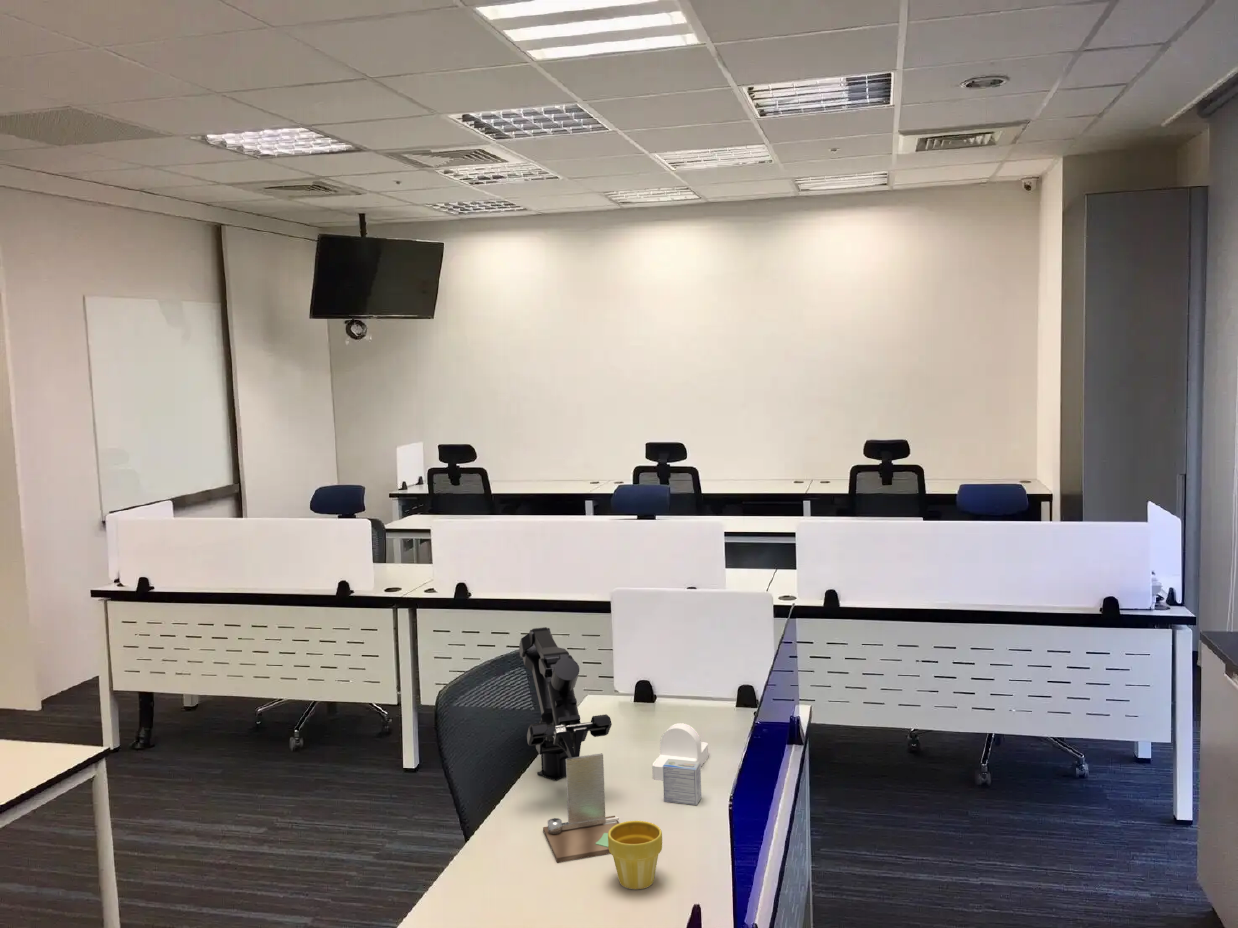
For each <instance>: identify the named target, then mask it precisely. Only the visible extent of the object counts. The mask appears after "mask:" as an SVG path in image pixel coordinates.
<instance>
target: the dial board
mask: <svg viewBox="0 0 1238 928" xmlns="http://www.w3.org/2000/svg"><path fill="white" fill-rule="evenodd" d="M614 817H616V815H610V816H605V818H606V819H608V818H614ZM619 823H620V822H619V820H615V821H609V822H606V823H604V824H598V825H591V826H585V827H579V828H573V829H567V830H562V832H560V833H558V834H551V833H549V832H548V825H546V826H543V827H542V832H543V834H544V837H545V839H546V841H547V844H548V845H549V847H550V849H551V853H552V854H553V856H554V859H555V861H556V863H558V864H559V863H564V862H569V861H570V862H571V861H575V860H580V859H581V860H582V859H587V858H593V857H598V856H604V855H609V854H610V855H611V853H610V852H609V847H608V832H609V830H610V829H611V828H612V827H613V826H615V825H617V824H619Z"/></svg>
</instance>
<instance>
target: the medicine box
mask: <svg viewBox="0 0 1238 928" xmlns="http://www.w3.org/2000/svg"><path fill="white" fill-rule="evenodd" d="M701 771H702V770H701V768H700V762H696V761H687V760H676V759H668V760H667V761H666V762H665V764H664V765H663V781H662V783H663V785H662V786H663V802H664V803H666V802H667V803H674V804H676V803H677V804H684V805H692V806H693V805H694V806H697V805H698V804H699V802H700V801H701V799H702V775H701Z"/></svg>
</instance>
